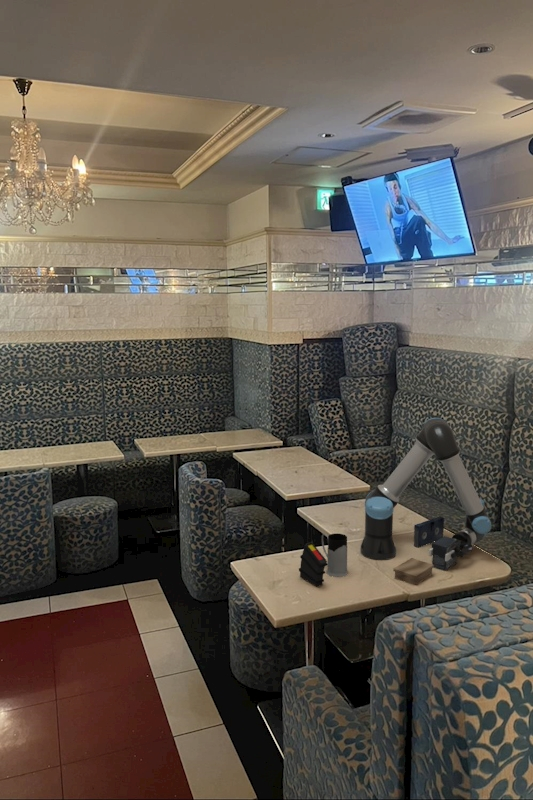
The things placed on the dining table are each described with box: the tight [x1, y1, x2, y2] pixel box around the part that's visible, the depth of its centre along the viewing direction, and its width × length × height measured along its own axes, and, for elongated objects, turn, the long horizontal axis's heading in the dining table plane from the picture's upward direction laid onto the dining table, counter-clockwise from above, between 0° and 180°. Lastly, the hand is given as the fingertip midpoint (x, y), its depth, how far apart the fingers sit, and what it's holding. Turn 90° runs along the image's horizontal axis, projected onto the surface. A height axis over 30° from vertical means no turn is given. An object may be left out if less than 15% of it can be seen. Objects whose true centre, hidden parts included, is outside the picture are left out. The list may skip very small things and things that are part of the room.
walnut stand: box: [392, 557, 434, 586], centre depth 244 cm, size 10×14×4 cm
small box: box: [432, 535, 458, 572], centre depth 254 cm, size 11×6×10 cm, turn 139°
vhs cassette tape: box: [413, 516, 445, 548], centre depth 278 cm, size 18×3×10 cm, turn 126°
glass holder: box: [321, 533, 349, 578], centre depth 249 cm, size 9×14×15 cm, turn 33°
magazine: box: [298, 541, 328, 588], centre depth 239 cm, size 4×13×15 cm, turn 34°
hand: (437, 555), depth 249 cm, fingers closed on small box, 6 cm apart
